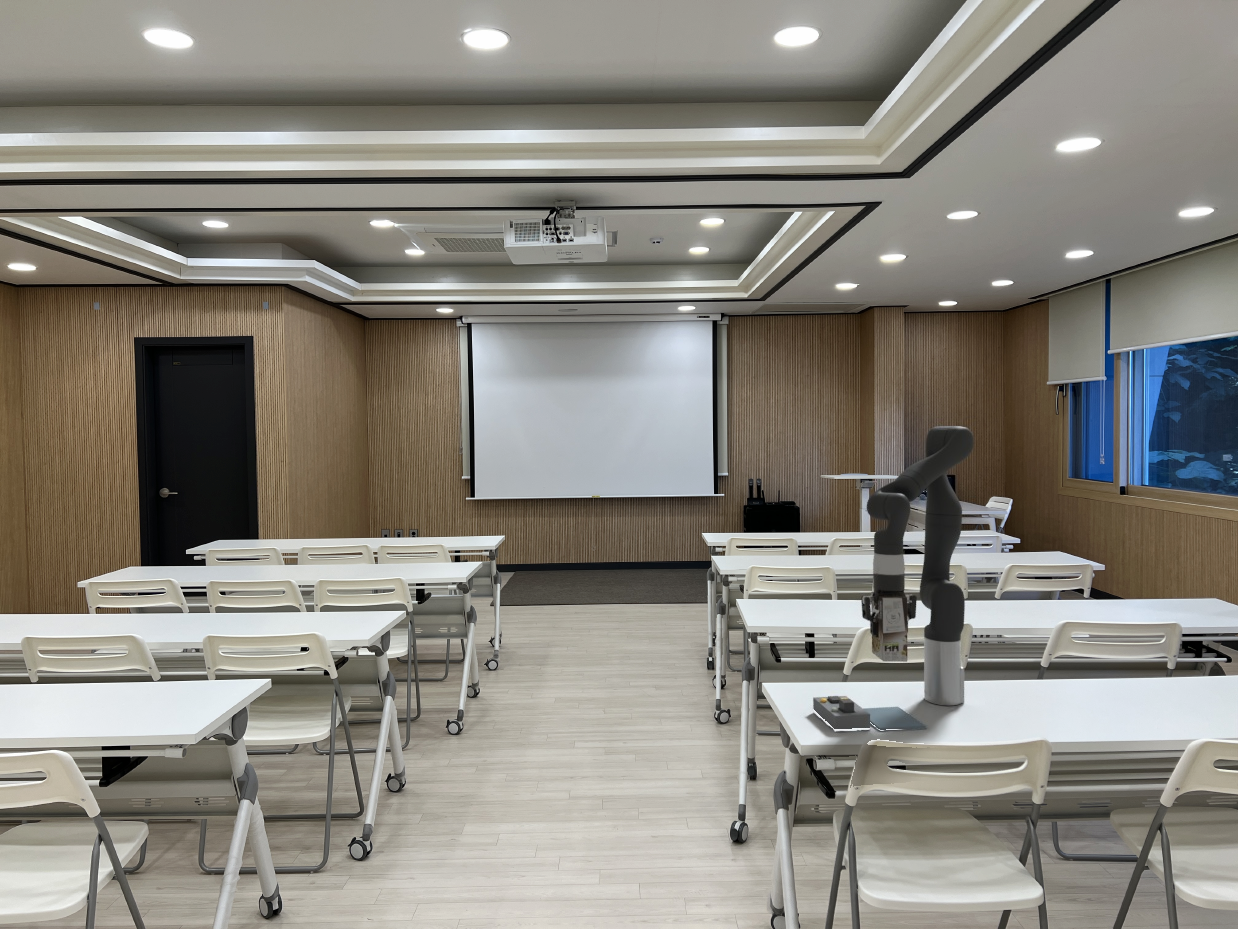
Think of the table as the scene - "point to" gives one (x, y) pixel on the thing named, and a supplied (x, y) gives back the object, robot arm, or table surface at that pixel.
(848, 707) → the block
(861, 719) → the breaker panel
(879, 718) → the mat
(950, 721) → the table surface
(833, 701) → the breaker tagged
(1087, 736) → the table surface
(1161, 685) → the table surface
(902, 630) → the coffee box
